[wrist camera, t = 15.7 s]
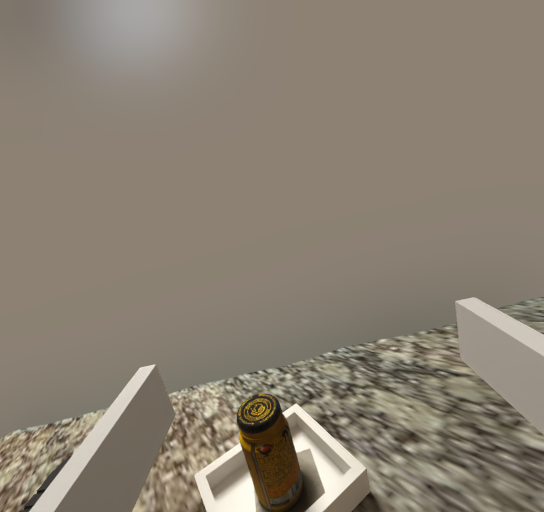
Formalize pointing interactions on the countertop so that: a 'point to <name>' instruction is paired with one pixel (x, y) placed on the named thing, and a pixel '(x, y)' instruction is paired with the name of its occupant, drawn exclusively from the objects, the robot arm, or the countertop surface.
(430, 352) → the countertop surface
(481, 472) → the countertop surface
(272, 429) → the condiment
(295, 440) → the tray
